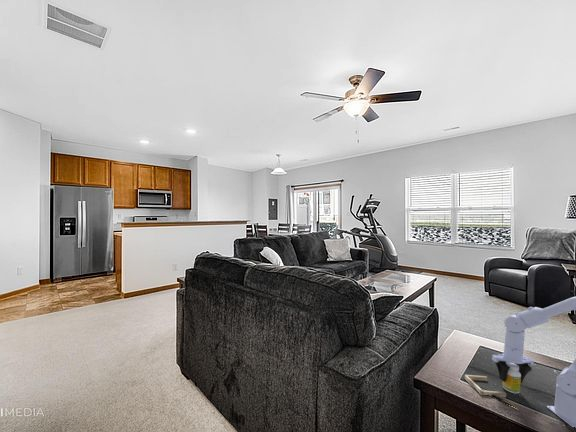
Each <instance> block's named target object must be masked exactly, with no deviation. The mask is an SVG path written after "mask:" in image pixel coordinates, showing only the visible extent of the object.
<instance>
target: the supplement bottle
mask: <svg viewBox="0 0 576 432" xmlns="http://www.w3.org/2000/svg"><path fill="white" fill-rule="evenodd" d="M506 364H507V365H508V366H509V367H510V368H509V370H508V373H507V378H506V382H504V381H502V386H501V387H502V388H503V389H504V390H505V391H507V392H509V393H512V394H515V395H517V394H520V393H521V384H522V383H521V373H520V372H519V366H518V365H516V364H514V363H509V362H506Z"/></svg>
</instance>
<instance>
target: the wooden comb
mask: <svg viewBox="0 0 576 432" xmlns="http://www.w3.org/2000/svg"><path fill="white" fill-rule="evenodd" d="M481 389H482V390H484V389H483V388H481ZM490 397H492V398H493V397H494V399H495V398H496V400H497V399H498V400H497V401H499V402H501V403H502V402H503V403H502V404H504V403H505V404H504V405H506V404H508V405H510V406H513V407H515V408H518V407H517V406H516V405H514V404H512V403H510V402H508V401H506V400H504V399H502V398H501V397H497V396H495V395H491V396H490ZM508 405H507V406H508Z"/></svg>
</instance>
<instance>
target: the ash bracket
mask: <svg viewBox="0 0 576 432" xmlns="http://www.w3.org/2000/svg"><path fill="white" fill-rule="evenodd" d="M463 379H464V380H466V381H465V382H467V383H468V384H469V385H470V386H471V387H472V388H473V389H474V388H475V389H476V390H477V391H478V392H479V393H478V392H477V391H476V392H477V393H478V394H479V395H480V396H482V395H489V396H488V397H492V396H491V395H495V396H497V397H499V398H507V393H506V391H495V390H494V391H493V390H485V389H483V388H482V387H480V386H479V385H478V384H476V383H475V381H479V382H480V381H484V382H488V376H487V375H474V374H464V375H463ZM475 389H474V390H475ZM482 389H483V390H482Z"/></svg>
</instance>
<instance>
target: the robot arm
mask: <svg viewBox="0 0 576 432" xmlns="http://www.w3.org/2000/svg"><path fill="white" fill-rule="evenodd" d="M571 311H576V296H572V297H569V298H567V299H565V300H564V299H563V300H562V301H560V302H557V303H554V304H552V305H549V306H547V307H544V308H543V307H542V308H541V307H538V306H534V307H533V306H529V307H527V309H526V310H524V311H523V310H522V311H520V312H519V311H517V312H515V313H514V314H512V315H510V316H508V317H506V319H505V320H504V325H505V326H504V327H505V336H504V346H503V347H504V349H503V352H502V353H500V354H492V355H491V360H492V361H493V362H494V364H495V365H496V367H497V371H498V374H499V379H500V380H501V381H502V382H503V381H504V382H506V378H507V373H508V370H509V368H510V367H509V366H508V365H507V364H506V362H509V363H515V364H516V365H518V366H519V372H520V373H521V384H522V383H523V381H524V379H525V377H526V375H528V373H529V372H531V370H532V367H531V366H534V365H535V364H534V363H535V360H534V359H533V358H530V357H526V356H525V357H524V348H525V344H524V342H525V330H527V329H531V328H534V327H537V326H541V325H543V324H547V323H548V322H549V320H550V319H549V318H550V317H555V316H557V315H561V314H564V313H567V312H571ZM555 381H556V383H555V384H556V385H555V396H554V405H546V407H547V409H549V410H550V411H551V412H552V413H554V414H555V415H557V416H558V417H559V418H560V419H561V420H563V421H564V422H565V423H567V424H568V425H569V426H570V427H572V428H574V427H575V428H574V429H576V358H575V359H574V360H573V362H572V363H571V364H570V366H566V367H564V368H563V369H562V370H561V372H560V374H558V375H557V376H556V379H555Z"/></svg>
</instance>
